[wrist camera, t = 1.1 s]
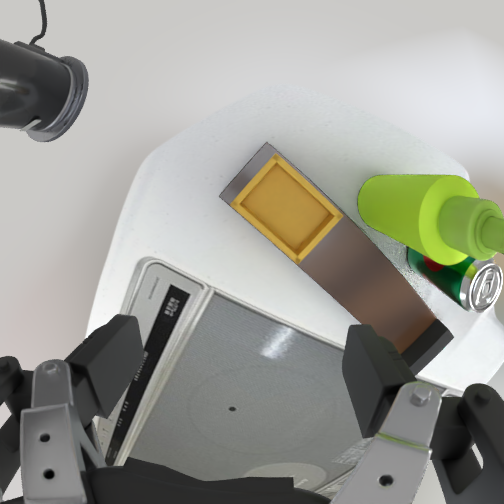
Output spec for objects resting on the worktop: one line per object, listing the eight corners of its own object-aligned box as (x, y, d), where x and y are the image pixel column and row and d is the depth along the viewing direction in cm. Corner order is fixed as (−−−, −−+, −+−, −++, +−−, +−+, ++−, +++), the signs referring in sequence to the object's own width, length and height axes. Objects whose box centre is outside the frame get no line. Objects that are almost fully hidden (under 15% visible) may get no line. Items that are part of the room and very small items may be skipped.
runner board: (220, 195, 28) (218, 196, 27) (266, 143, 27) (266, 141, 25) (403, 361, 32) (406, 366, 31) (440, 324, 30) (444, 328, 29)
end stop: (397, 357, 30) (405, 370, 27) (436, 317, 29) (448, 329, 26) (404, 364, 31) (413, 377, 28) (443, 326, 29) (454, 337, 26)
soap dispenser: (400, 242, 28) (532, 323, 9) (348, 216, 28) (473, 283, 8) (420, 194, 27) (568, 225, 7) (369, 165, 26) (515, 154, 7)
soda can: (402, 272, 29) (458, 319, 17) (408, 228, 28) (473, 256, 16) (436, 273, 29) (496, 315, 17) (442, 231, 27) (510, 259, 16)
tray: (233, 202, 27) (229, 204, 24) (275, 155, 25) (275, 152, 23) (295, 257, 28) (297, 265, 25) (337, 212, 26) (343, 215, 24)
